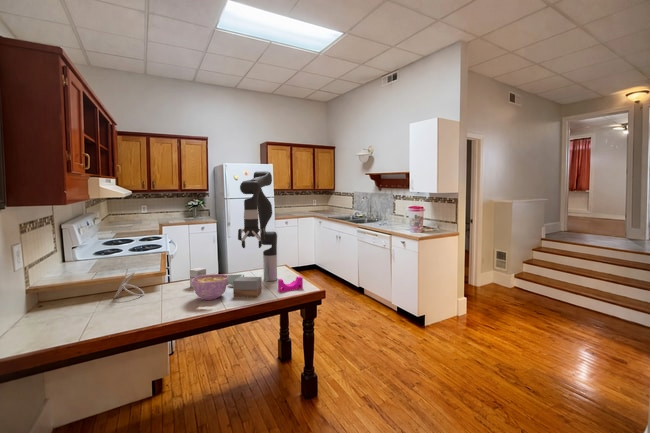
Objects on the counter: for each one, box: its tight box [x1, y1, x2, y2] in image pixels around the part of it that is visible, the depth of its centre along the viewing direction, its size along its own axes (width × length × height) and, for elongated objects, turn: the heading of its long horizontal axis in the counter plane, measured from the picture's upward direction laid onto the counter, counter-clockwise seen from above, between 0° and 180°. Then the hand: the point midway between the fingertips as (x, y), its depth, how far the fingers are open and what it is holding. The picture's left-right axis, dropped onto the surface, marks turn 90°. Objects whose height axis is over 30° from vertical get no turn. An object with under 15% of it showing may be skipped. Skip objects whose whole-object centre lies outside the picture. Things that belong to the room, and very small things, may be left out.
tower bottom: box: [232, 285, 263, 298], centre depth 183 cm, size 10×14×5 cm
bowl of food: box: [192, 273, 228, 301], centre depth 178 cm, size 20×20×12 cm
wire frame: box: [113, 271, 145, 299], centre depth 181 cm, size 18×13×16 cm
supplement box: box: [189, 267, 207, 289], centre depth 199 cm, size 7×7×13 cm
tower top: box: [232, 276, 263, 290], centre depth 182 cm, size 10×14×5 cm
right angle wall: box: [226, 273, 245, 289], centre depth 198 cm, size 12×12×8 cm
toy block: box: [277, 275, 304, 293], centre depth 194 cm, size 15×6×8 cm, turn 116°
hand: (251, 247), depth 166 cm, fingers open, 8 cm apart
